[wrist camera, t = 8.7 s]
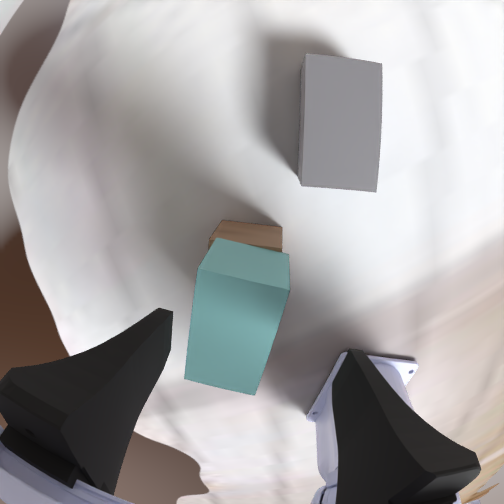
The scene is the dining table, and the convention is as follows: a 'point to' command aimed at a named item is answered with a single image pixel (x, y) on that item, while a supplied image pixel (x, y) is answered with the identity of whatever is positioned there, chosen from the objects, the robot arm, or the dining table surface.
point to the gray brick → (340, 123)
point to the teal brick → (235, 314)
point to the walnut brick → (249, 234)
